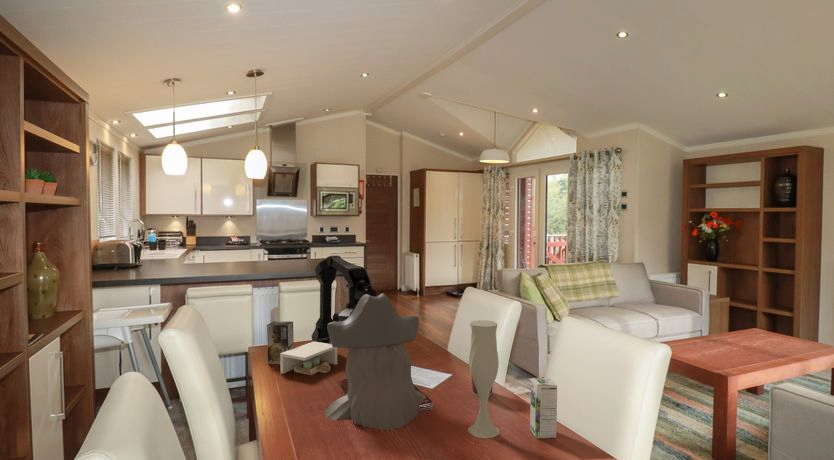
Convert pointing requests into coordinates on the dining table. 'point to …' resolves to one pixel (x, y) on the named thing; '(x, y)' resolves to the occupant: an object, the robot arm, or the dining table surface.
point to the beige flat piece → (322, 367)
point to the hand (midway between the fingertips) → (356, 340)
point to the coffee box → (279, 339)
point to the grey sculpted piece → (376, 365)
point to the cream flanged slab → (307, 355)
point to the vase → (483, 373)
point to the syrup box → (543, 408)
